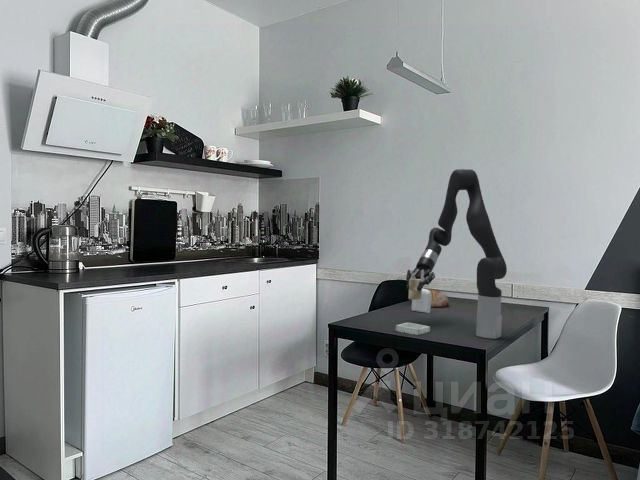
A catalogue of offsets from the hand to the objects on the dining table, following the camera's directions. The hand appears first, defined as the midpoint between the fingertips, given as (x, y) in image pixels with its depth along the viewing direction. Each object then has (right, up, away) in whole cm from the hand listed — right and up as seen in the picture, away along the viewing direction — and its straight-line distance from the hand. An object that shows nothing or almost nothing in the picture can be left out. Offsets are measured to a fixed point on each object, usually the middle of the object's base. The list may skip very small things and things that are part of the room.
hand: (413, 289), depth 224 cm
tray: (-2, -17, -9) cm, 20 cm away
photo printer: (+12, -16, +41) cm, 45 cm away
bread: (+24, -16, +63) cm, 70 cm away
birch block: (+1, -5, +2) cm, 5 cm away
